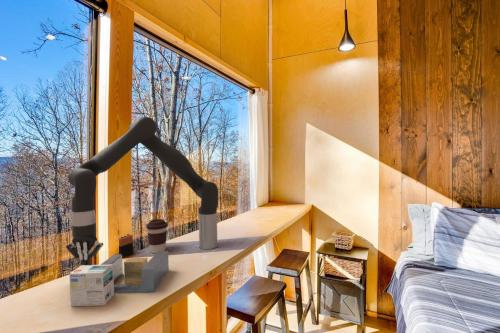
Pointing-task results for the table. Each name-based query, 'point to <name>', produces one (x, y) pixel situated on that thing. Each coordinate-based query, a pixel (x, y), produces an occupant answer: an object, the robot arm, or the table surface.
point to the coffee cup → (157, 235)
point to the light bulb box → (91, 285)
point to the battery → (126, 245)
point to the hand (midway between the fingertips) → (85, 268)
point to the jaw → (115, 265)
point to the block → (134, 270)
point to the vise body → (148, 275)
